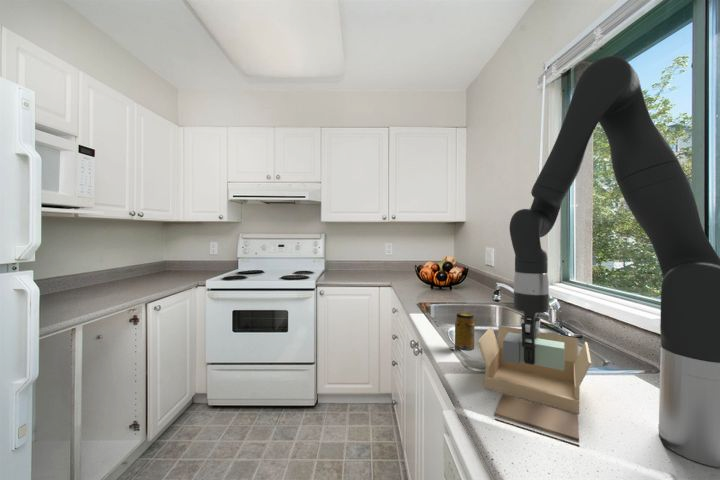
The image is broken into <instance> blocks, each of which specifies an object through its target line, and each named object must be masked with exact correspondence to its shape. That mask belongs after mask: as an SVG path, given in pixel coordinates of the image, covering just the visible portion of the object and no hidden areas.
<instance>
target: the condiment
mask: <svg viewBox="0 0 720 480" xmlns="http://www.w3.org/2000/svg"><path fill="white" fill-rule="evenodd" d="M454 322H455V323H454V347H455V350H456V349H457V350H461V351H464V352H465V351H467V352H469V351H474V350H475V322H474V315H473V314H472V313H471V312H466V311H465V312H464V311H463V312H462V311H460V312H457V313H456V321H454ZM451 348H452V347H449V348H448V349H449V350H451Z"/></svg>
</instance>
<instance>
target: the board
mask: <svg viewBox="0 0 720 480" xmlns="http://www.w3.org/2000/svg"><path fill="white" fill-rule="evenodd" d="M578 415H579V414H578V413H575V412H571V411H567V410H563V409H560V408H556V407H552V406H549V405H545V404H541V403H538V402H534V401H530V400H526V399H523V398H519V397H515V396H512V395H508V394H504V393H501V397H500V399H499V402H498V404H497V407H496V408H495V411H494V416H495V417H497V418H494V421H496V422H500V423H502V424H506V425H508V426H512V427H515V428H518V429H521V430H524V431H528V432H530V433H533V434H537V435H540V436H543V437H547V438H549V439H553V440H556V441H558V442H562V443H565V444H567V445H571V446H575V447H578V448H579V447H580V445H579V444H577V443H574V442H575V441H576V442H580V432H579V416H578ZM498 417H499V418H502V419H505V420H506V421H505V420H502V419H498ZM507 420H508V421H507ZM509 421H511V422H514V423H511V422H509ZM515 423H517V424H515ZM518 424H520V425H518ZM521 424H522V425H523V426H521ZM524 426H527V427H524ZM528 427H529V428H534V429H537V430H540V431H544V432H546V433H549V434H552V435H556V436H560V437H562V438H565V439H569V440H572V441H574V442H571V441H569V440H565V439H562V438H559V437H555V436H552V435H548V434H546V433H542V432H539V431H536V430H533V429H529V428H528Z"/></svg>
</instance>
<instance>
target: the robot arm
mask: <svg viewBox="0 0 720 480" xmlns="http://www.w3.org/2000/svg"><path fill="white" fill-rule="evenodd" d="M641 85H642V84H641V82H640V78H639V75H638V73H637V72H636V71H635V69H634V68H633V66H632V65H631V64H630V63H629V62H628V61H627V60H626V59H624V58H623V57H620V56H615V55H612V56H611V55H610V56H605V57H602V58H599V59H597V60H596V61H594V62H592V63H591V64H590V65H588V66H587V67H586V68H585V70H584V71H583V72H582V73H581V74H580V76H579V78H578V80H577V83H576V84H575V87H574V91H573V93H572V97H571V99H570V103H569V106H568V109H567V112H566V115H565V117H564V119H563V122H562V125H561V127H560V130H559V133H558V135H557V138H556V139H555V141H554V144H553V147H552V149H551V151H550V153H549V155H548V156H547V159H546V161H545V163H544V165H543V167H542V168H541V170H540V172H539V175H538V176H537V177H536V178H537V179H536V180H535V183H534V184H533V186H532V188H531V192H530V193H531V196H532V197H533V200H532V203H531V206H530V208H522V209H519V210H517V211H515V212H514V213H513V215H512V217H511V218H510V222H509V235H510V240H511V245H512V248H513V252H514V255H515V256H514V276H513V277H514V278H513V308H514V309H515V310H517V311H519V312H523V313H524V314H523V315H522V316H521V317H520V325H521V329H522V331H521V335H522V347H524V362H525V363H526V364H531V365H534V363H535V348H536V346H535V340H536V339H538V336H539V332H541V331H540V327H541V326H540V325H541V317H540V315H539V314H544V313H548V311H549V307H550V306H549V303H550V301H549V299H550V298H549V293H550V292H549V291H550V289H549V288H550V287H549V286H550V283H549V276H548V267H549V266H548V264H549V263H548V253H547V251H546V250H544V249H543V247H542V245H541V244H542V243H541V238H544V237H545V236H546V235H548V234H549V232H551V230H552V229H553V227H554V226H555V223H556V222H557V219H558V216H559V213H560V210H561V207H562V203H563V200H564V199H565V197H566V195H567V194H568V192H569V190H570V189H571V187H572V185H573V183H574V182H575V180H576V178H577V176H578V174H579V171H580V170H581V167H582V164H583V161H584V159H585V155H586V153H587V152H586V151H587V148H588V145H589V143H590V140H591V138H592V135H593V134H594V131H595V129H596V128H597V125H598V123H599V125H600V127H601V128H602V130H603V132H604V134H605V136H606V138H607V141H608V146H609V151H610V159H611V167H612V170H613V171H612V172H613V174H614V178H615V180H616V183H617V185H618V187H619V190H620V192H621V194H622V197H623V199H624V201H625V203H626V205H627V207H628V209H629V210H630V212H631V214H632V215H633V217H634V218H635V220H636V221H637V223H638V224H639V226H640V228H642V231H643V232H644V233H645V234H646V236H647V238H648V239H649V241H650V243H651V245H652V247H653V249H654V252H655V255H656V259H657V261H658V265H659V268H660V271H661V276H662V281H661V288H660V323H659V324H660V325H659V328H660V329H659V330H660V360H659V362H660V363H659V365H660V367H659V368H660V369H659V400H658V404H659V405H658V406H659V407H658V434H657V435H658V437H659V439H660V441H661V443H662V444H663V445H664V447H665V446H666V447H667V448H668V449H669V450H671V451H672V452H675V453H676V454H678V455H680V456H681V457H684V458H686V459H689V460H691V461H693V462H696V463H699V464H701V465H706V466H709V467H714V468H720V257H719V255H718V254H717V252H716V250H715V249H714V247H713V246H712V244H711V242H710V241H709V239H708V237H707V235H706V234H705V231H704V228H703V225H702V223H701V218H700V214H699V210H698V205H697V202H696V198H695V196H694V193H693V190H692V186H691V184H690V181H689V179H688V177H687V175H686V173H685V171H684V169H683V166H682V165H681V163H680V160H679V159H678V157H677V155H676V154H675V152H674V150H673V148H672V146H671V145H670V144H669V142H668V141H667V139H666V138H665V136H664V135H663V133H662V132H661V131H660V130H659V128H658V127H657V125H656V124H655V122H654V121H653V118H652V116H651V113H650V112H649V108H648V106H647V103H646V100H645V97H644V93H643V89H642V86H641ZM526 339H531V340H532V343H529V342H526Z"/></svg>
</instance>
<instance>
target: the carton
mask: <svg viewBox="0 0 720 480" xmlns="http://www.w3.org/2000/svg"><path fill="white" fill-rule="evenodd" d="M497 331H498V332H497V337H496V335H495V331H494V328H493V326H489V327H488V329H487V330H486V331H485V332H484V334H483V335H481V337H480V338H479V340H478V341H477V344H478V348H479V351H480V353H481V356H482V360H483V362H484V365H485V367H484V380H483V381H484V383H483V386H484V387H483V388H484V389H486V390H490V391H494V392H498V393H501V394H504V395H508V396H511V397H515V398H519V399H522V400H526V401H530V402H533V403H537V404H541V405H544V406H548V407H552V408H555V409H559V410H563V411H566V412H570V413H574V414H577V415H579V414H580V387H581V384H582V382H583V381H584V379H585V377H586V375H587V373H588V371H589V369H590V367H591V366H592V360H591V354H590V349H589V344H588V342H587V341H584V343H583V345H582V347H581V349H580V351H579V353H578V350H579V349H578V348H579V347H578V346H579V345H578V340H579V338H578V337H575V336H568V335H560V334H554V333H548V332H543V331H539V336H538V338H539V339H545V340H551V341H558V342H564V371H563V370H558V369H553V368H548V367H543V366H538V365H531V364H526V363H523V362H519V364H517V363H512V362H507V361H503V340H504V338H505V336H506V335H507V333H508V332H511V333H517V334H521V331H522V328H516V327H510V326H504V325H498V330H497Z"/></svg>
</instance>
